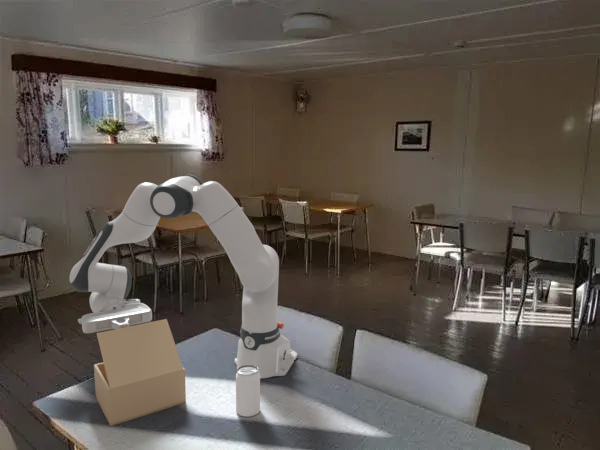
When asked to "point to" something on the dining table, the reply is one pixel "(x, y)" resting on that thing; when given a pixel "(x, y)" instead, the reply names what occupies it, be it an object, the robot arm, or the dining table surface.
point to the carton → (138, 395)
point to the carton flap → (138, 353)
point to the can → (248, 391)
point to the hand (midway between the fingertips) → (124, 327)
